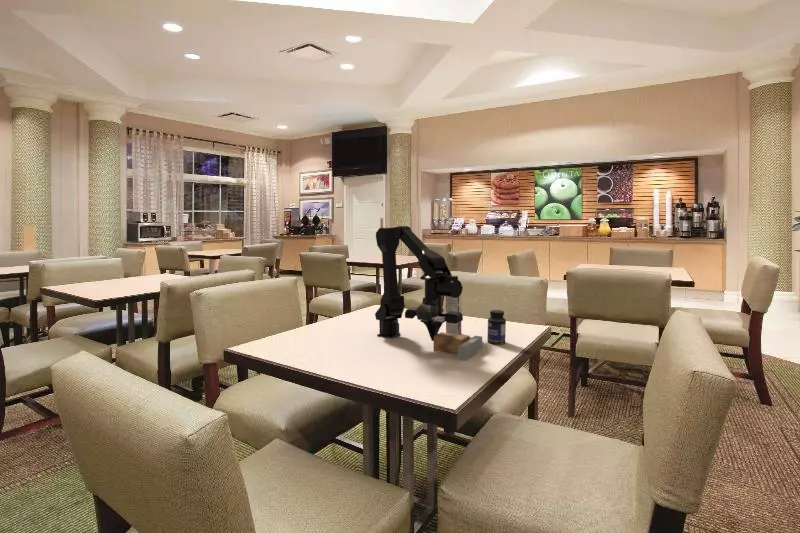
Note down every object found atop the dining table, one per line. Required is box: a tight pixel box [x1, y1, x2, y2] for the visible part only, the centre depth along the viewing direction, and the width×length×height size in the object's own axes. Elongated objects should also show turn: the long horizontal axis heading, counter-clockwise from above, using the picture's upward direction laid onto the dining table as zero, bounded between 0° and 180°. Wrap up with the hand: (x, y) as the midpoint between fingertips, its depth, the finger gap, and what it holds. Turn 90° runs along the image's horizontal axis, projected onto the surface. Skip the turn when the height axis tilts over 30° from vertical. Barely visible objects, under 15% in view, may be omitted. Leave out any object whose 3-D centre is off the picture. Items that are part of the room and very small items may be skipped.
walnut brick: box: [433, 331, 470, 356], centre depth 154 cm, size 10×6×5 cm, turn 60°
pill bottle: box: [487, 309, 507, 345], centre depth 164 cm, size 6×6×11 cm
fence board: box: [457, 335, 483, 361], centre depth 151 cm, size 2×15×4 cm, turn 151°
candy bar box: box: [445, 294, 463, 335], centre depth 171 cm, size 11×5×16 cm, turn 168°
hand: (433, 340), depth 157 cm, fingers closed
